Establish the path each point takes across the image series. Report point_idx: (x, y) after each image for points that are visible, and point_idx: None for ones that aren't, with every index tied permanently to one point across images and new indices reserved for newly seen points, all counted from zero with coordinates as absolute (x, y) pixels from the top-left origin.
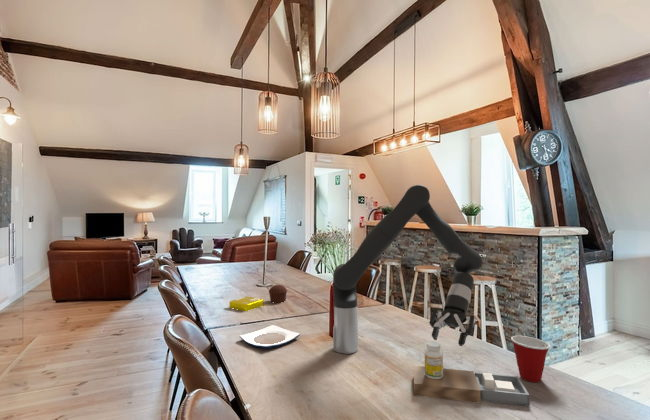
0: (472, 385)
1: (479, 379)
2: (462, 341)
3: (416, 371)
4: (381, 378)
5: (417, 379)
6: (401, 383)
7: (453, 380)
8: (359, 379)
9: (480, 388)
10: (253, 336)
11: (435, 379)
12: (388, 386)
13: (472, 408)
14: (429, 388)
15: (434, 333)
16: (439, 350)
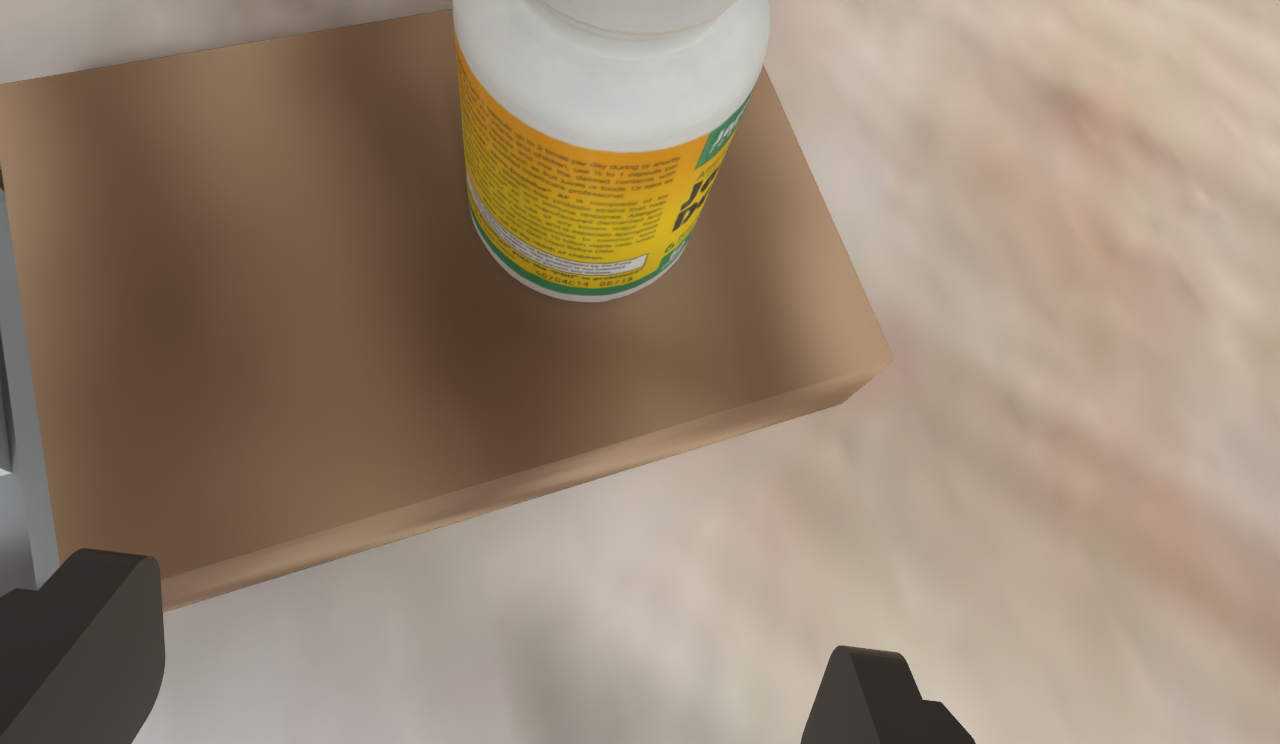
0: (87, 164)
1: None
2: (4, 616)
3: (800, 216)
4: (1083, 207)
5: None
6: (882, 200)
7: (333, 188)
8: (1216, 107)
9: (10, 267)
10: None
11: None
12: (950, 101)
13: (148, 56)
14: None
15: (905, 722)
16: (522, 11)
